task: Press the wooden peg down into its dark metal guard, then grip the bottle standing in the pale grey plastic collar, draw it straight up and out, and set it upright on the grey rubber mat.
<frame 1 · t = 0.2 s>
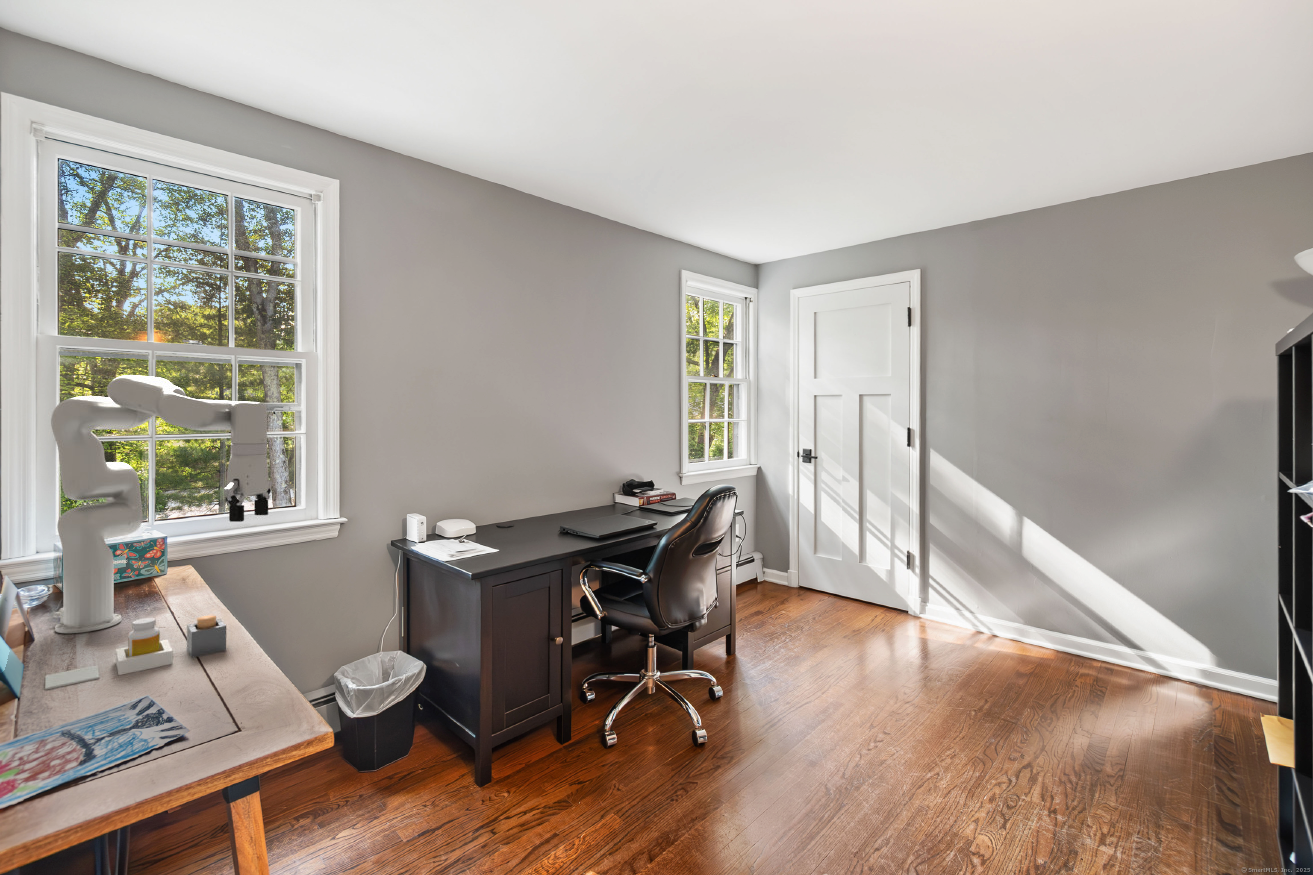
hand: (249, 518, 150), 30 cm above the table, fingers open, 9 cm apart
collar: (144, 662, 134), on the table
plunger pedestal: (206, 649, 142), on the table
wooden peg: (206, 622, 142), point 7 cm above the table, slide at 0.0 cm
mat: (72, 677, 125), on the table
supplement bottle: (144, 663, 134), resting in collar
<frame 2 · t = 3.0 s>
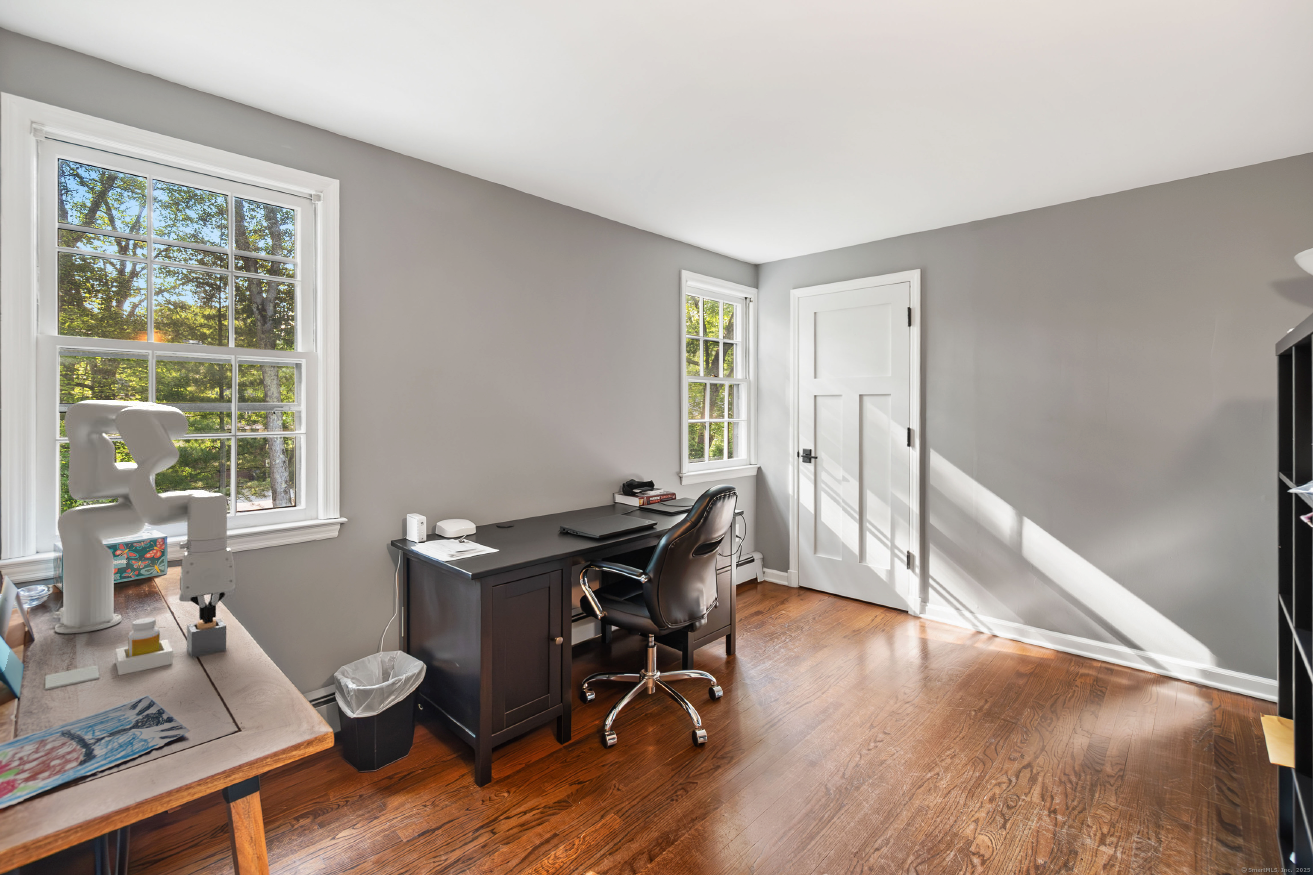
hand: (207, 621, 141), 7 cm above the table, fingers closed
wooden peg: (206, 626, 142), point 6 cm above the table, slide at 0.9 cm, touching gripper
everything else where it was.
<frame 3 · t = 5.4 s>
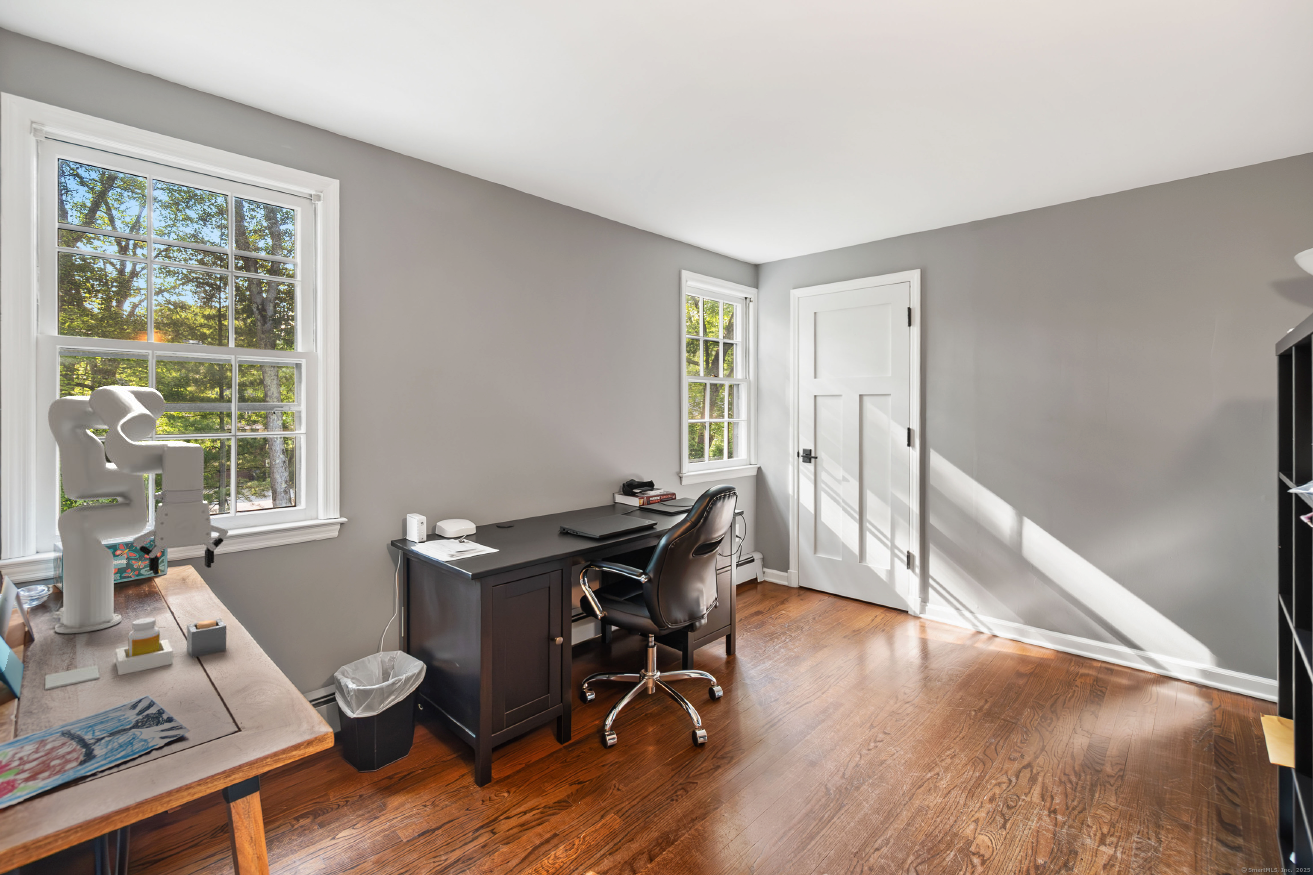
hand: (182, 570, 138), 20 cm above the table, fingers open, 9 cm apart
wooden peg: (206, 627, 142), point 5 cm above the table, slide at 1.2 cm
everything else where it was.
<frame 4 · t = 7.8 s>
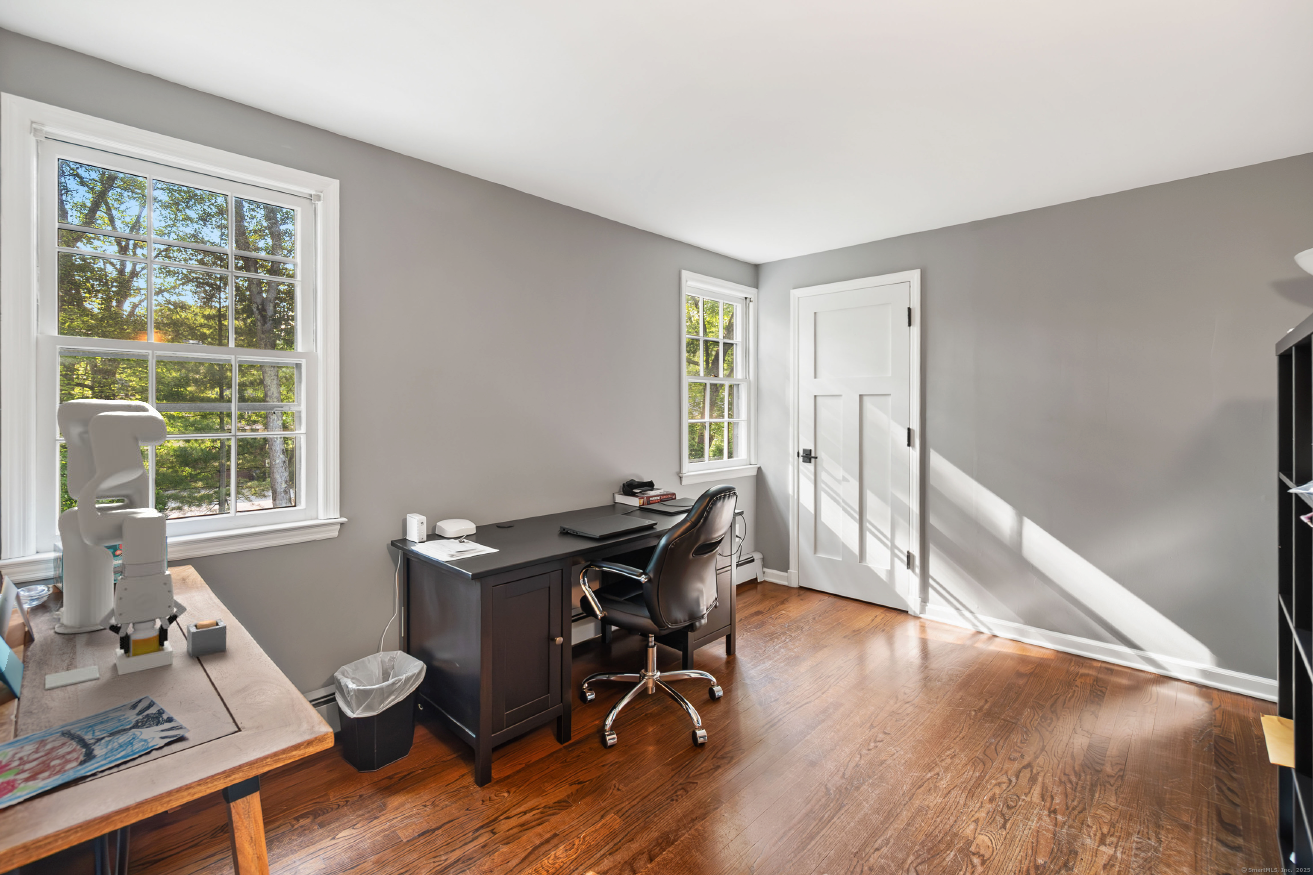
hand: (144, 647, 134), 4 cm above the table, fingers closed on supplement bottle, 5 cm apart
supplement bottle: (144, 663, 134), resting in collar, touching gripper
everything else where it was.
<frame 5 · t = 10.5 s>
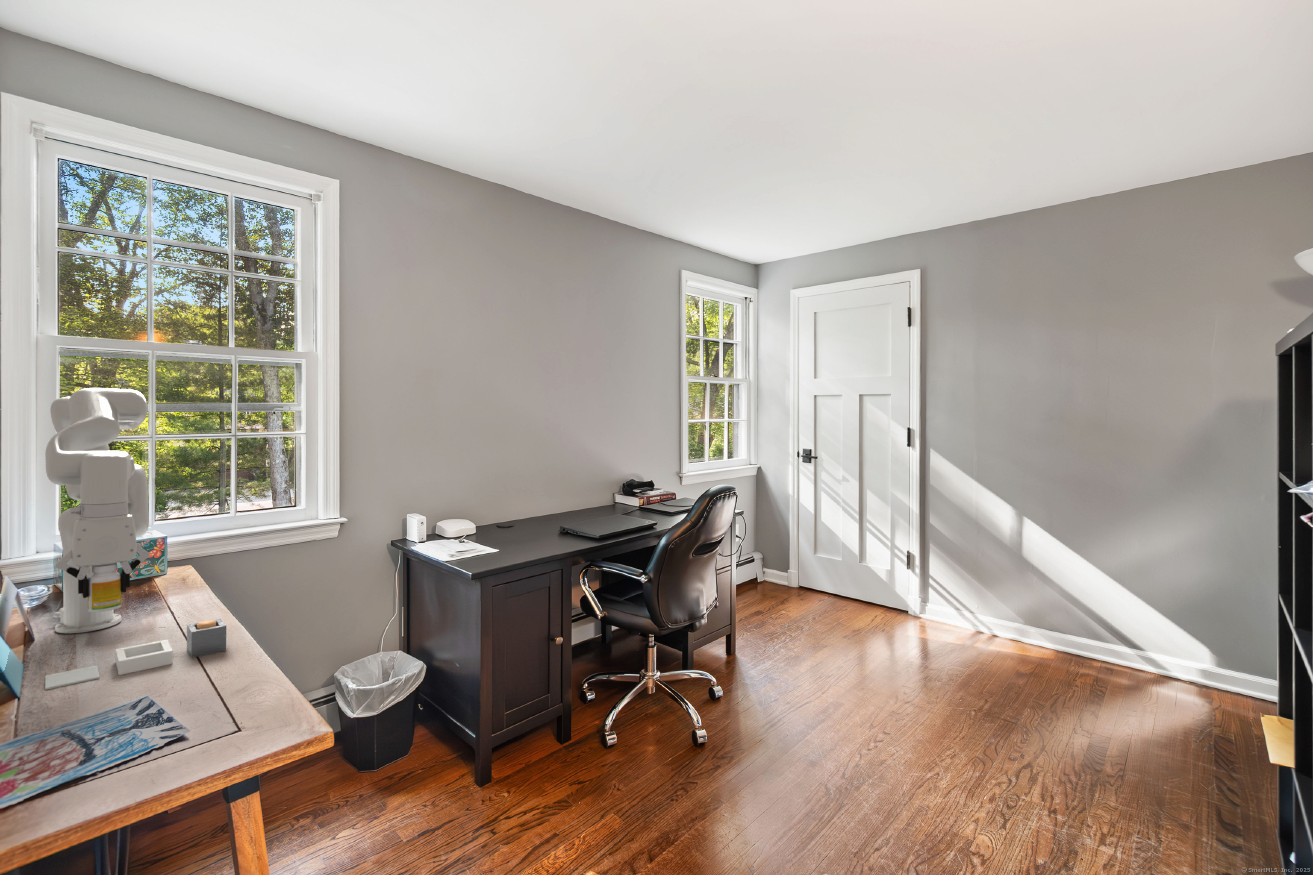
hand: (104, 592, 129), 17 cm above the table, fingers closed on supplement bottle, 5 cm apart
supplement bottle: (104, 609, 129), point 13 cm above the table, touching gripper
everything else where it was.
when the fingers open (5 cm above the table, at t = 13.5 s): supplement bottle drops 1 cm, resting on mat.
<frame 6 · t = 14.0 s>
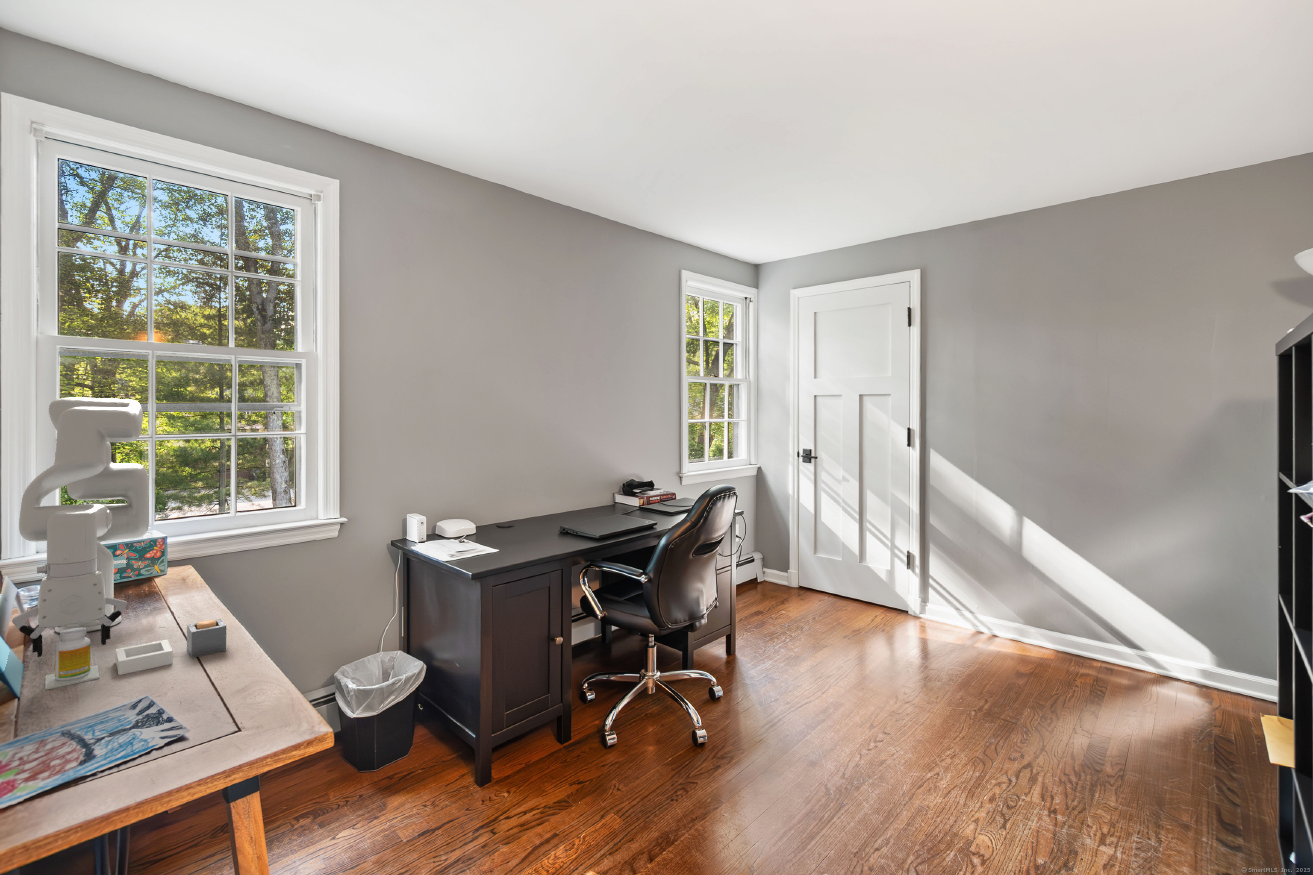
hand: (72, 648, 125), 6 cm above the table, fingers open, 9 cm apart
supplement bottle: (72, 676, 125), resting on mat
everything else where it was.
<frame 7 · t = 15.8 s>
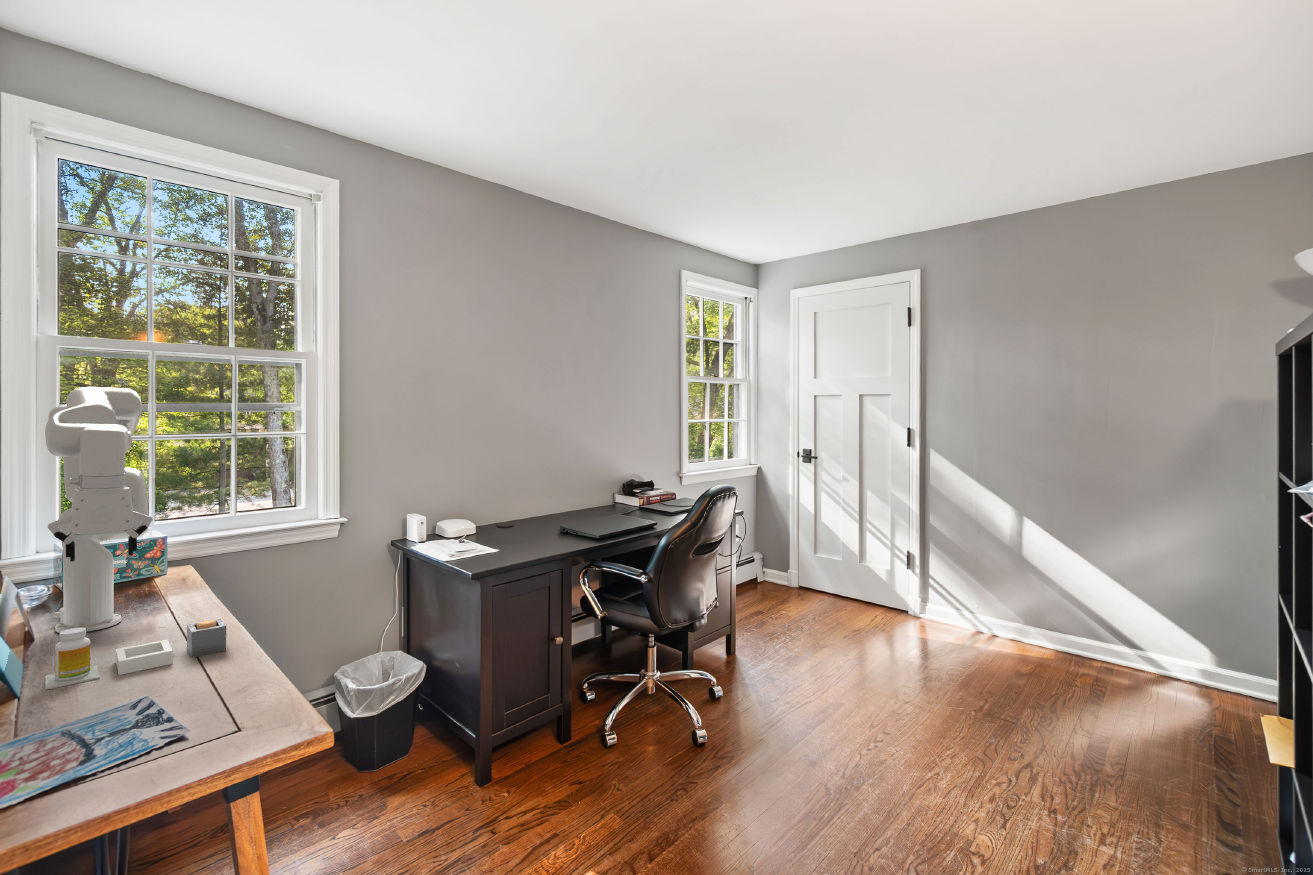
hand: (102, 557, 134), 23 cm above the table, fingers open, 9 cm apart
nothing on the table moved.
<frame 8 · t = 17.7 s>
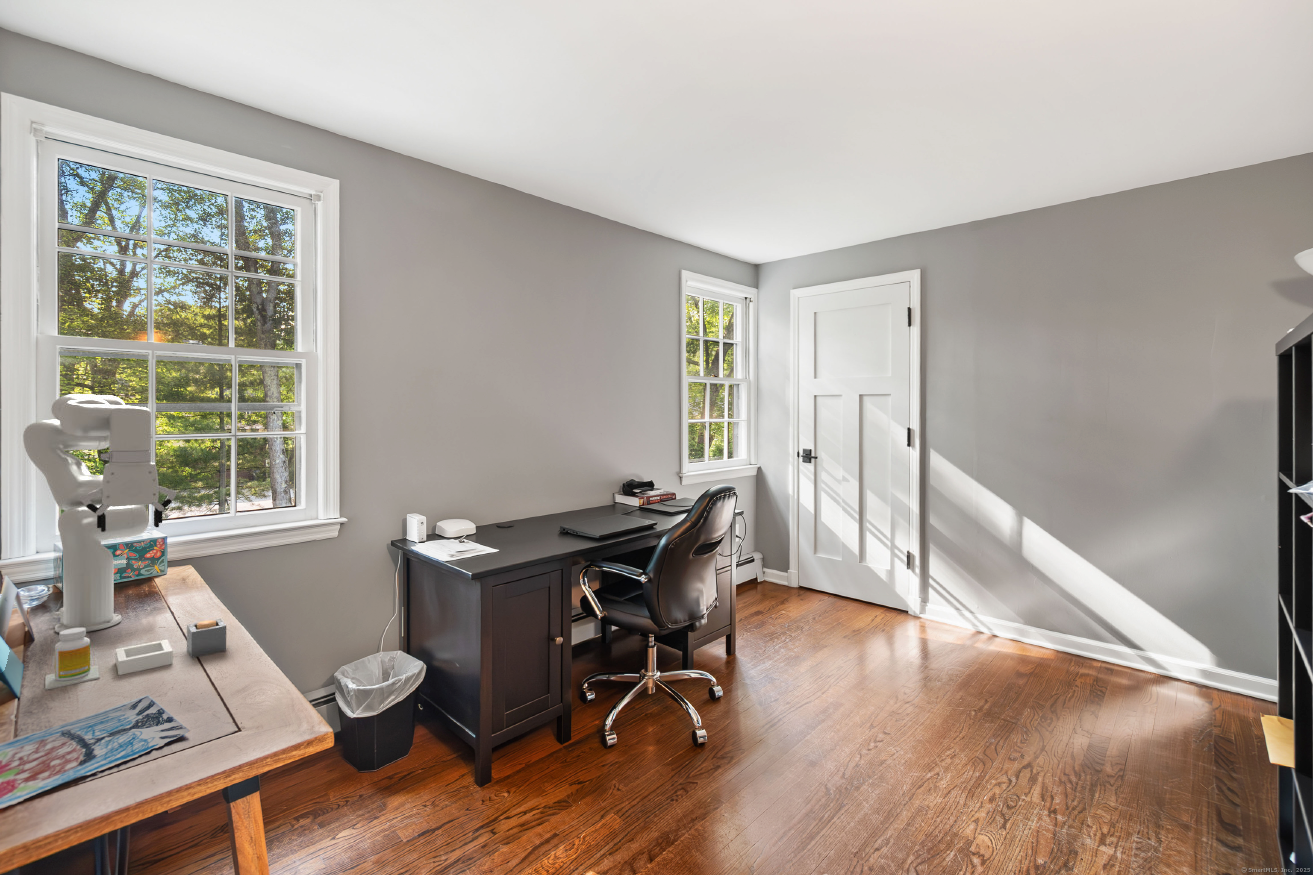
hand: (130, 528, 143), 28 cm above the table, fingers open, 9 cm apart
nothing on the table moved.
at the end: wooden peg slide at 1.2 cm; supplement bottle 0.0 cm off-centre on the mat, point 0.2 cm above the mat's base; supplement bottle tilted 0° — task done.
